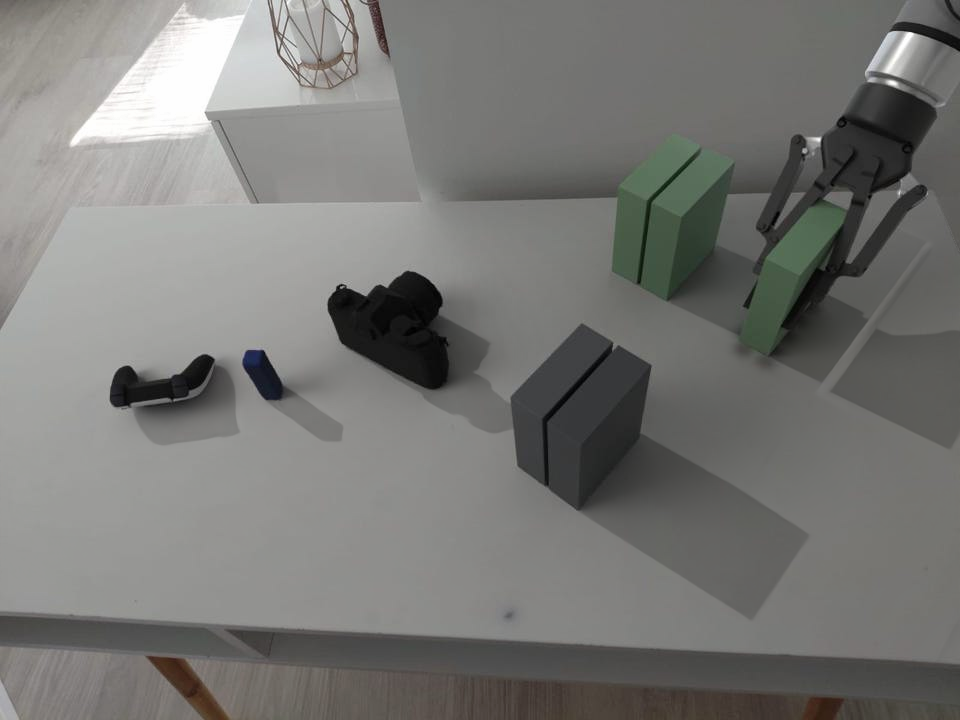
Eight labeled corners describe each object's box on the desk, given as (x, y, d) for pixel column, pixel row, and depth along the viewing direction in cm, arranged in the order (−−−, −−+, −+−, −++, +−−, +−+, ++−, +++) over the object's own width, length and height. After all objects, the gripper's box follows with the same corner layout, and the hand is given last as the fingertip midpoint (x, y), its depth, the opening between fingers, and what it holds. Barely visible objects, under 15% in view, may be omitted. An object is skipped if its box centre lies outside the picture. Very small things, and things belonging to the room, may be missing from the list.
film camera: (485, 337, 84) (478, 284, 77) (434, 400, 80) (422, 351, 73) (380, 284, 90) (364, 231, 82) (327, 341, 86) (305, 290, 78)
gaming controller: (130, 403, 86) (101, 419, 79) (120, 365, 85) (90, 378, 78) (223, 388, 86) (202, 404, 79) (215, 350, 85) (193, 362, 78)
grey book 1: (606, 416, 77) (613, 341, 66) (544, 486, 73) (542, 419, 63) (578, 398, 79) (581, 322, 68) (517, 466, 75) (509, 396, 64)
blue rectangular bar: (281, 400, 82) (260, 365, 76) (261, 400, 82) (239, 364, 76) (285, 384, 83) (265, 347, 77) (266, 384, 83) (244, 347, 78)
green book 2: (714, 247, 88) (735, 161, 78) (666, 300, 85) (681, 217, 74) (688, 234, 90) (706, 147, 79) (640, 286, 86) (651, 202, 76)
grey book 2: (639, 438, 75) (652, 365, 65) (577, 511, 72) (580, 445, 61) (610, 419, 77) (618, 344, 66) (548, 489, 73) (546, 422, 62)
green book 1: (685, 233, 90) (701, 146, 80) (636, 284, 86) (647, 200, 76) (660, 220, 92) (673, 133, 81) (611, 270, 88) (618, 186, 77)
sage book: (815, 297, 83) (852, 212, 72) (768, 356, 79) (800, 275, 69) (785, 282, 85) (818, 196, 74) (738, 340, 81) (765, 258, 70)
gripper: (991, 137, 69) (849, 357, 77) (821, 74, 77) (706, 281, 84) (995, 120, 63) (840, 361, 70) (809, 53, 70) (686, 279, 78)
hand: (767, 317), depth 77 cm, fingers closed on sage book, 3 cm apart
